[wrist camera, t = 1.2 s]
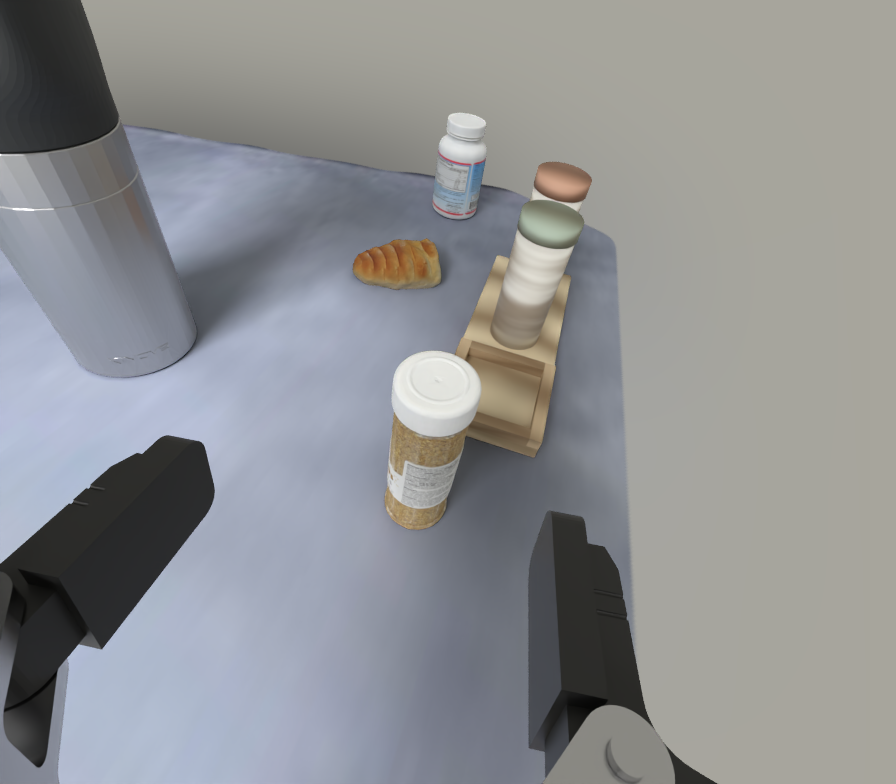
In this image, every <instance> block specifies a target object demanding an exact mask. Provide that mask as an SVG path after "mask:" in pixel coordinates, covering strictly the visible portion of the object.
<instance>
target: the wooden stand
mask: <svg viewBox="0 0 896 784" xmlns="http://www.w3.org/2000/svg"><path fill="white" fill-rule="evenodd" d="M591 182H592V179H591V177H590V176H589V175H588V174H587V173H586V172H585V171H583V170H581V169H580V168H578V167H575V166H573V165H569V164H566V163H560V162H546V163H542V164H541V165H539V167H538V170H537V174H536V177H535V181H534V188H533V192H532V195H531V199H530V201H529V202H527V203H525V204H524V205H523V207H522V210H521V214H520V218H519V221H518V225H517V226H518V230H517V233H516V237H515V240H514V244H513V248H512V251H511V255H510V258H506V257H503V256H499V255H497V258H496V260H495V262H494V265H493V267H492V270H491V272H490V274H489V277H488V279H487V282H486V284H485V287H484V289H483V291H482V294H481V296H480V299H479V301H478V303H477V306H476V308H475V311H474V313H473V315H472V318H471V320H470V323H469V325H468V327H467V330H466V332H465V335H464V337H463V338H461V341H460V343H459V345H458V348H457V350H456V353H455V355H456V356H458V357H460V358H462V359H463V360H465V361H466V362H468V363H469V364H470V365H471V366H472V367H473V368H474V369H475V371H476V372H477V374H478V376H479V378H480V381H481V388H482V390H481V397H480V401H479V405H478V408H477V411H476V414H475V417H474V419H473V420H472V422H471V423H470V425H469V427H468V430H467V433H466V436H468V437H471V438H474V439H477V440H480V441H484V442H487V443H490V444H493V445H496V446H499V447H502V448H505V449H508V450H511V451H514V452H517V453H521V454H524V455H527V456H530V457H533V458H534V457H535V455H536V453H537V451H538V449H539V448H540V446H541V444H542V440H543V435H544V429H545V424H546V419H547V413H548V408H549V402H550V397H551V391H552V386H553V381H554V375H555V370H556V366H554V364H555V359H556V354H557V348H558V343H559V338H560V333H561V327H562V322H563V317H564V311H565V306H566V301H567V296H568V290H569V285H570V280H571V276H569V275H565V274H563V273H564V271H565V268H566V266H567V263H568V260H569V258H570V255H571V253H572V250H573V248H574V245H575V244H576V243H577V241H578V238H579V236H580V233H581V231H582V228H583V226H584V220H583V218H582V216H581V215H580V214H579V211H580V208H581V205H582V202H583V200H584V199H585V197H586V195H587V193H588V190H589V187H590V185H591Z"/></svg>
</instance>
